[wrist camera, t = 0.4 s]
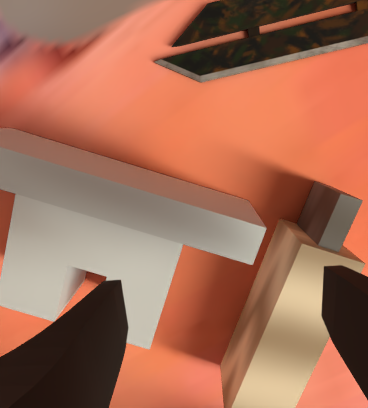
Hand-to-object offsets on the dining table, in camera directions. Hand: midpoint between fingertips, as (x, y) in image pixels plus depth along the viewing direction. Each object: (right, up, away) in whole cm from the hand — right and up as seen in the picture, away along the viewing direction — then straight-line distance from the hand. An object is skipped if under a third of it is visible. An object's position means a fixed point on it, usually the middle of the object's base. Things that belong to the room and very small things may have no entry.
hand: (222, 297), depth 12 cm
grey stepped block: (-6, +1, +11) cm, 13 cm away
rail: (+5, -2, +11) cm, 13 cm away
